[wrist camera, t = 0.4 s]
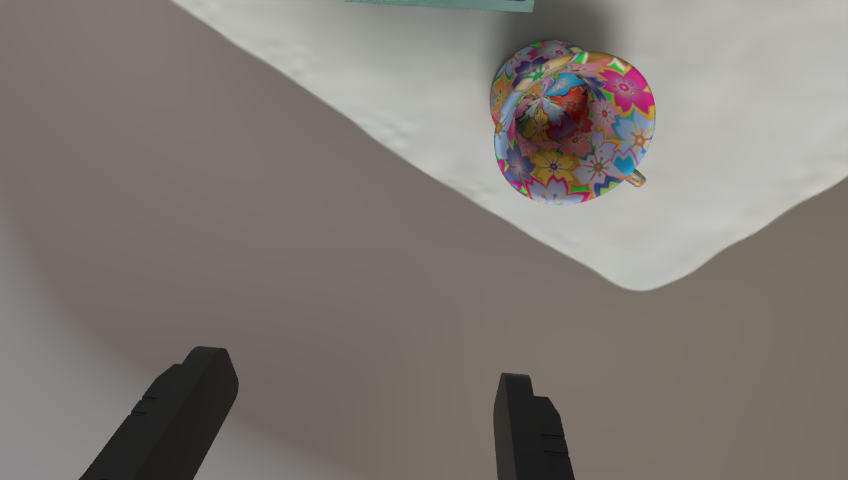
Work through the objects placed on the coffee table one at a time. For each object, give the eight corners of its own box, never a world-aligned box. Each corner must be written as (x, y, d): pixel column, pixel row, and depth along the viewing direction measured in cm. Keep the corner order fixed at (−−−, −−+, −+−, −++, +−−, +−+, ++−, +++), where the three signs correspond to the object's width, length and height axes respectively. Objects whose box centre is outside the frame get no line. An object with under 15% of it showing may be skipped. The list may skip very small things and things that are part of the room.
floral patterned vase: (462, 112, 33) (464, 157, 24) (535, 5, 29) (570, 14, 20) (567, 184, 36) (603, 248, 27) (648, 97, 32) (724, 141, 23)
